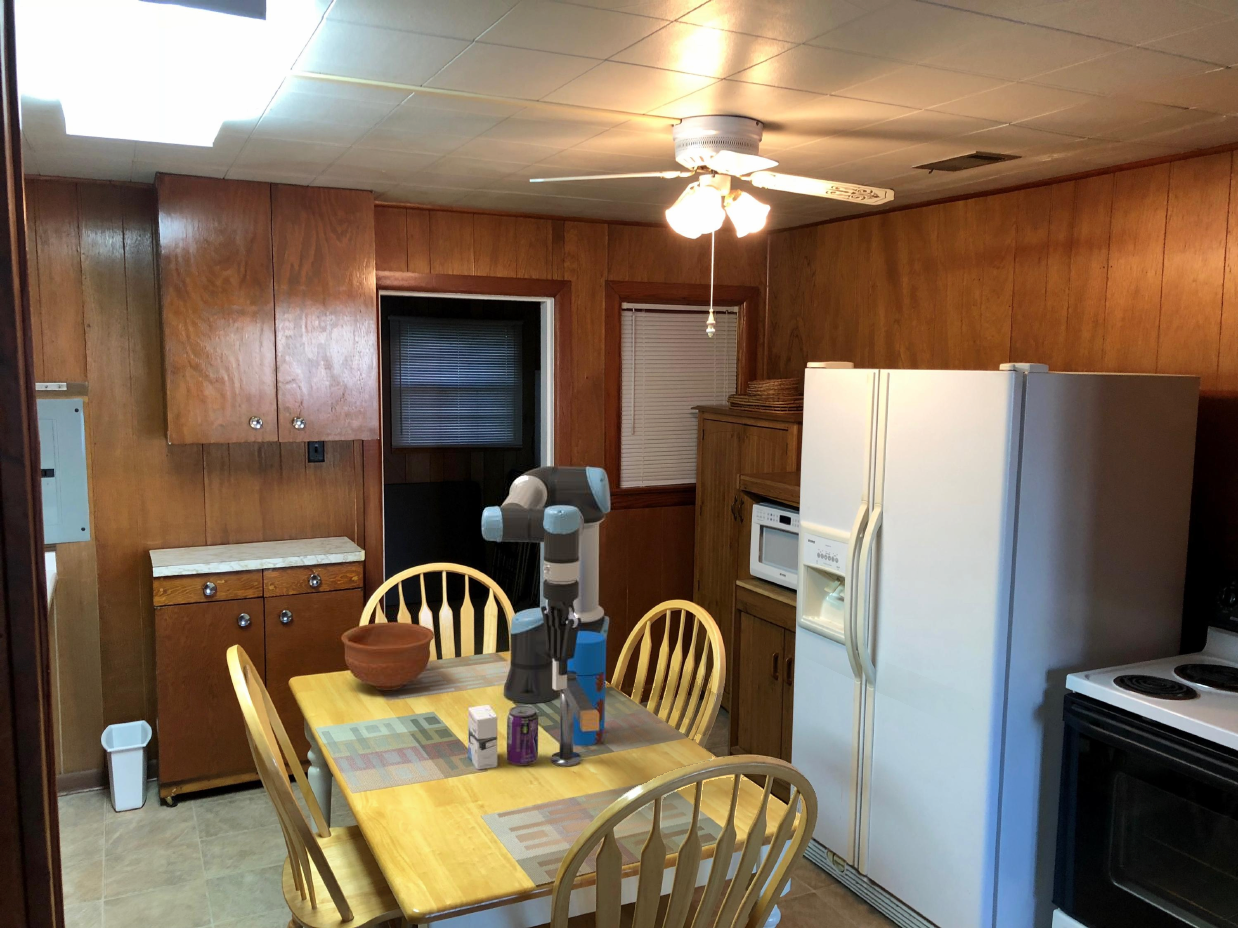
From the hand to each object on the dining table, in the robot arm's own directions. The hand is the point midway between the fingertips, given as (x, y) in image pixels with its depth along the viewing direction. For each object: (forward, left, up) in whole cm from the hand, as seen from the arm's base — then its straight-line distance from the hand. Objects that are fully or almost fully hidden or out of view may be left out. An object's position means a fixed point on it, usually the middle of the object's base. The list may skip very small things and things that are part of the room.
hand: (559, 687), depth 205 cm
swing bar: (-4, +1, -5) cm, 6 cm away
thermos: (-22, -17, -22) cm, 35 cm away
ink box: (+5, -21, -22) cm, 31 cm away
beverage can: (-2, -15, -22) cm, 27 cm away
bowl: (-6, -80, -22) cm, 83 cm away
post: (-10, -9, -22) cm, 25 cm away
